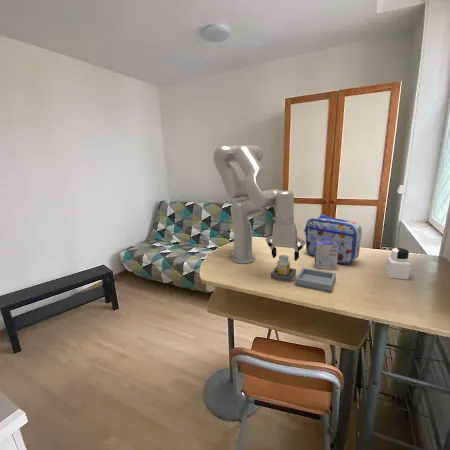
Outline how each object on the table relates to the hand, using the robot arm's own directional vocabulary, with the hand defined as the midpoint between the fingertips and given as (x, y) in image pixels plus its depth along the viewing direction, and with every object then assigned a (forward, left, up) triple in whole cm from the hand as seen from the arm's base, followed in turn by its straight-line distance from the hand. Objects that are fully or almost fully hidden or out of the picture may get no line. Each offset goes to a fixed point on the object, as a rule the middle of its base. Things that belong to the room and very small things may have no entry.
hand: (285, 258), depth 114 cm
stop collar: (-1, 0, -9) cm, 9 cm away
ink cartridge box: (+14, +18, -9) cm, 25 cm away
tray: (+13, 0, -9) cm, 16 cm away
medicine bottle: (+43, +21, -9) cm, 49 cm away
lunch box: (+14, +30, -9) cm, 35 cm away
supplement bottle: (-1, 0, -9) cm, 9 cm away
